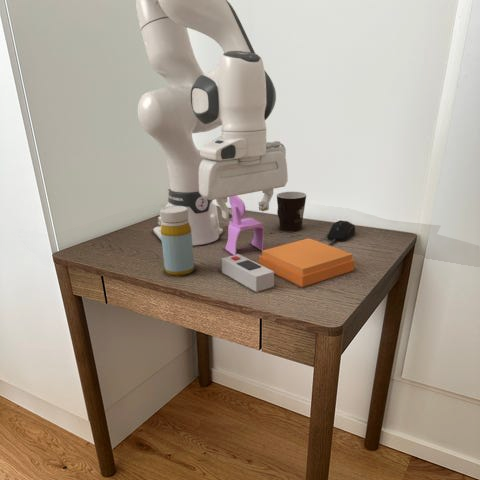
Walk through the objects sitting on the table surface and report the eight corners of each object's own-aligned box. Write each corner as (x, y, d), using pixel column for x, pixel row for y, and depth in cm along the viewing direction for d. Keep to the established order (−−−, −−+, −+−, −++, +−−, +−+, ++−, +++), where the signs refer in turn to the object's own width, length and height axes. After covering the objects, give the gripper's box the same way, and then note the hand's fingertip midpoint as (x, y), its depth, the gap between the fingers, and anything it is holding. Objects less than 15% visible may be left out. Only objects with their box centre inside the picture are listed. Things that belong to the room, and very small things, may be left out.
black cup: (293, 222, 143) (294, 190, 138) (310, 229, 137) (312, 195, 132) (262, 229, 138) (262, 195, 133) (279, 236, 131) (279, 201, 127)
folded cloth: (259, 266, 112) (258, 250, 110) (308, 252, 119) (309, 237, 117) (302, 287, 100) (302, 270, 98) (354, 270, 108) (355, 254, 106)
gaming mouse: (319, 243, 125) (320, 229, 123) (336, 228, 137) (337, 215, 135) (342, 246, 122) (343, 231, 121) (357, 231, 134) (358, 217, 132)
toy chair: (266, 251, 121) (266, 193, 114) (236, 257, 117) (234, 198, 110) (252, 242, 127) (251, 187, 120) (223, 247, 124) (220, 191, 117)
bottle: (166, 266, 113) (159, 206, 106) (194, 265, 113) (189, 204, 106) (164, 277, 107) (157, 214, 100) (194, 275, 107) (189, 212, 100)
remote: (222, 272, 109) (221, 257, 107) (238, 267, 111) (238, 252, 109) (256, 292, 98) (256, 275, 96) (274, 286, 101) (274, 270, 99)
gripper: (275, 138, 98) (275, 203, 105) (192, 149, 88) (197, 219, 95) (294, 141, 94) (293, 208, 100) (208, 152, 84) (213, 226, 90)
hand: (245, 214), depth 97 cm, fingers open, 8 cm apart
